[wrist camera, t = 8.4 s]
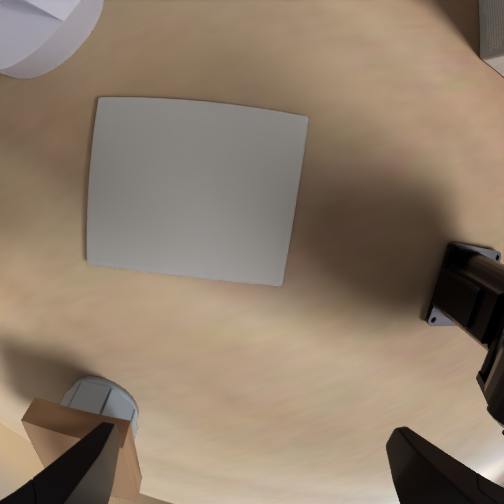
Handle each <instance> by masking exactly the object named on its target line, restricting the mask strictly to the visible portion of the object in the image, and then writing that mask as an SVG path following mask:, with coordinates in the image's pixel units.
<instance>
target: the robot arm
mask: <svg viewBox="0 0 504 504" xmlns="http://www.w3.org/2000/svg"><path fill="white" fill-rule="evenodd" d="M453 248H454V250H453V251H452V249H453ZM500 259H501V253H500V252H498V251H496V250H491V249H486V248H481V247H476V246H471V245H466V244H461V243H456V242H451V243H449V244H448V246H447V249H446V253H445V257H444V261H443V265H442V268H441V272H440V275H439V279H438V282H437V286H436V289H435V292H434V295H433V299H432V302H431V305H430V308H429V311H428V314H427V317H426V322H427V323H428V324H429V325H430V326H455V325H457V326H459V327H460V328H461V329H462V330H463V331H465V332H466V333H467V334H468V335H469V336H471V337H472V338H473V339H474V340H475V341H477V342H478V343H479V344H480V345H481V346H482V347H484V348H485V349H486V350H487V351H488V353H487V355H486V358H485V360H484V363H483V365H482V368H481V370H480V371H479V372H478V375H477V377H476V379H477V382H478V384H479V386H480V388H481V390H482V392H483V395H484V397H485V399H486V401H487V404H488V406H487V411H488V413H489V414H490V415H491V416H492V417H493V419H494V420H495V421H497V422H498V424H500V425H501V426H502V427H504V265H503V264H501V263H500ZM432 318H433V319H432ZM431 319H432V320H431ZM502 434H503V435H504V430H503V431H502ZM119 448H120V438H119V433H118V429H117V426H116V424H115V423H113V422H108V421H102V422H101V423H100V424H98V425H97V426H96V427H95V428H94V429H92V430H91V431H90V432H89V433H88V434H86V435H85V436H84V437H83V438H82V439H80V440H79V441H78V442H77V443H76V444H74V445H73V446H72V447H71V448H69V449H68V450H67V451H66V452H65V453H63V454H62V455H61V456H60V457H58V458H57V459H56V460H55V461H53V462H52V463H51V464H50V465H48V466H47V467H46V468H45V469H44V470H42V471H41V472H40V473H38V474H37V475H36V476H35V477H34V478H33V480H32V479H31V480H29V481H28V482H27V483H26V484H24V485H23V486H22V487H20V488H19V489H18V490H16V491H15V492H14V493H12V494H10V495H9V496H7V497H5V498H4V499H2V500H0V504H108V502H109V498H110V495H111V491H112V488H113V484H114V478H115V472H116V466H117V460H118V454H119ZM386 451H387V455H388V460H389V464H390V469H391V474H392V479H393V483H394V486H395V489H396V492H397V495H398V498H399V501H400V504H504V488H503V487H501V486H499V485H497V484H495V483H493V482H492V481H490V480H488V479H486V478H485V477H483V476H481V475H480V474H478V473H476V472H475V471H473V470H472V469H470V468H468V467H467V466H465V465H464V464H462V463H461V462H459V461H457V460H456V459H454V458H453V457H451V456H450V455H448V454H447V453H445V452H444V451H442V450H441V449H439V448H438V447H436V446H435V445H433V444H432V443H430V442H429V441H427V440H426V439H424V438H423V437H421V436H420V435H418V434H417V433H415V432H414V431H412V430H411V429H409V428H408V427H398V428H396V429H394V431H393V433H392V434H391V436H390V438H389V440H388V442H387V444H386Z"/></svg>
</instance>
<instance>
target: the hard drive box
mask: <svg viewBox="0 0 504 504" xmlns="http://www.w3.org/2000/svg"><path fill="white" fill-rule="evenodd" d="M479 22H480V58H481V59H482V60H483V61H484V62H486V63H487V64H488V65H490V66H491V67H492V68H493V69H495V70H496V71H497V72H499V73H500V74H501V75H502V76H503V77H504V0H479Z"/></svg>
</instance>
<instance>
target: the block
mask: <svg viewBox="0 0 504 504" xmlns="http://www.w3.org/2000/svg"><path fill="white" fill-rule="evenodd" d="M21 421H22V423H23V426H24V428H25V430H26V432H27V434H28V436H29V439H30V441H31V443H32V445H33V447H34V449H35V451H36V453H37V454H38V456H39V458H40V460H41V462H42V464H43V466H44V467H45V468H46V467H47V466H48V465H50V464H51V463H52V462H53V461H55V460H56V459H57V458H58V457H60V456H61V455H62V454H63V453H65V452H66V451H67V450H68V449H69V448H71V447H72V446H73V445H74V444H76V443H77V442H78V441H79V440H80V439H82V438H83V437H84V436H85V435H86V434H88V433H89V432H90V431H91V430H92V429H94V428H95V427H96V426H97V425H98V424H100V423H101V422H102V421H108V422H113V423H115V424H116V426H117V429H118V433H119V438H120V448H119V454H118V460H117V466H116V472H115V478H114V484H113V488H112V491H111V495H110V496H112V497H117V498H122V499H126V500H132V501H138V497H139V491H140V485H141V480H142V476H141V472H140V467H139V462H138V458H137V453H136V448H135V442H134V437H133V431H132V425H131V420H125V419H120V418H114V417H109V416H104V415H100V414H95V413H91V412H86V411H82V410H78V409H74V408H70V407H66V406H63V405H59V404H55V403H52V402H48V401H45V400H42V399H38V398H34V400H33V402H32V403H31V405H30V406H29V408H28V410H27V411H26V413H25V415H24V416H23V418H22V419H21Z"/></svg>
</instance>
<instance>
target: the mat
mask: <svg viewBox="0 0 504 504" xmlns="http://www.w3.org/2000/svg"><path fill="white" fill-rule="evenodd" d="M308 120H309V117H306V116H301V115H296V114H291V113H285V112H280V111H274V110H268V109H261V108H255V107H248V106H240V105H232V104H224V103H215V102H205V101H194V100H181V99H165V98H141V97H99V100H98V106H97V112H96V119H95V126H94V134H93V142H92V151H91V161H90V173H89V187H88V206H87V265H95V266H102V267H110V268H117V269H125V270H133V271H141V272H149V273H157V274H166V275H174V276H183V277H192V278H201V279H210V280H220V281H230V282H239V283H250V284H260V285H270V286H281V287H282V283H283V278H284V272H285V266H286V261H287V255H288V249H289V243H290V237H291V232H292V226H293V219H294V213H295V207H296V201H297V195H298V188H299V182H300V175H301V169H302V162H303V155H304V148H305V142H306V135H307V127H308Z"/></svg>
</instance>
